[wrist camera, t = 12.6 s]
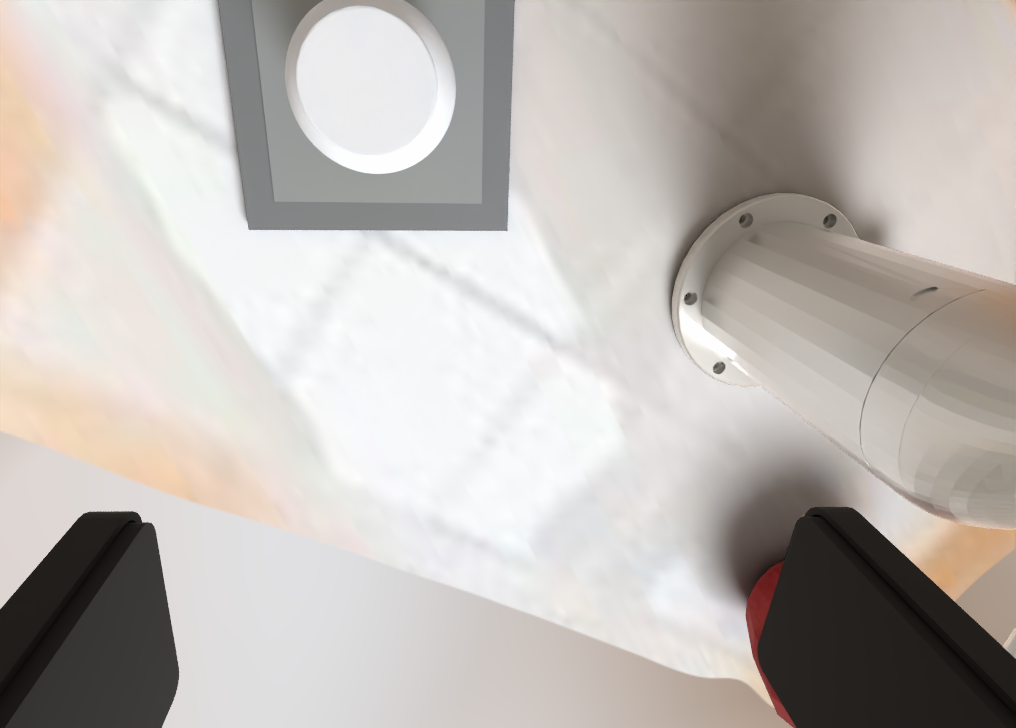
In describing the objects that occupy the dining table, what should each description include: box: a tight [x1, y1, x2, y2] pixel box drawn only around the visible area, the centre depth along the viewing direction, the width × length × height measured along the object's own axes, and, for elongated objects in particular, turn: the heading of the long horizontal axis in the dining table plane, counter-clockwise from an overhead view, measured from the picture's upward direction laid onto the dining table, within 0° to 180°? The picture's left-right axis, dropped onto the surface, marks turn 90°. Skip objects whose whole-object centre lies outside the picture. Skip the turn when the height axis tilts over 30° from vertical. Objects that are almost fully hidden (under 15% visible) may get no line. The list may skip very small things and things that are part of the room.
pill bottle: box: [285, 0, 456, 174], centre depth 25 cm, size 6×6×12 cm
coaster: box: [218, 0, 515, 231], centre depth 31 cm, size 14×14×1 cm
